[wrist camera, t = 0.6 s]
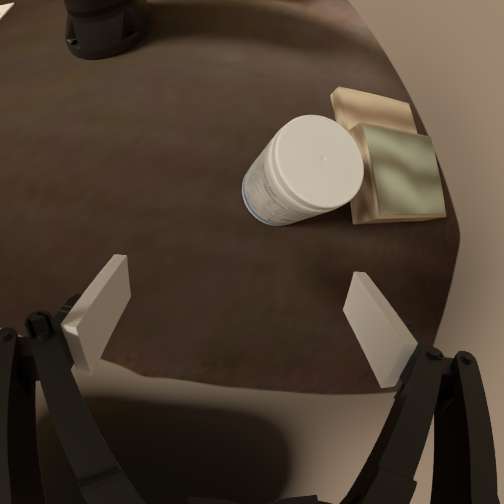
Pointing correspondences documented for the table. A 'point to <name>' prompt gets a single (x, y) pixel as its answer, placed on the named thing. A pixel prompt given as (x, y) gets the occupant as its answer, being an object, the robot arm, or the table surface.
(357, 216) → the birch riser
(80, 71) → the table surface
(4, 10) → the photo frame
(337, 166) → the supplement tub
